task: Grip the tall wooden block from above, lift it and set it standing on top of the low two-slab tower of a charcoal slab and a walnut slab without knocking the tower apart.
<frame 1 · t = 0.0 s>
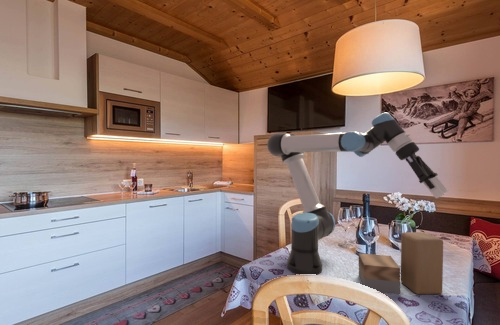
hand: (442, 194, 94), 36 cm above the table, tool tilted 35°, fingers open, 13 cm apart
tower top slab: (377, 272, 101), point 5 cm above the table
wooden block: (420, 288, 99), on the table
tower base slab: (378, 285, 102), on the table
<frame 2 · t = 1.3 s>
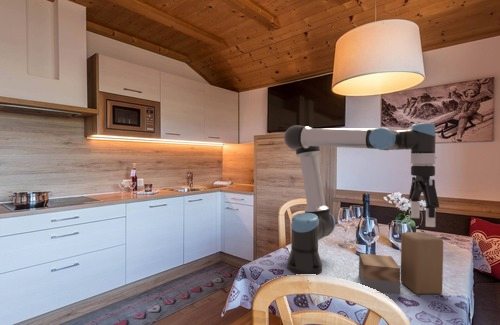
hand: (422, 222, 98), 25 cm above the table, tool pointing down, fingers open, 13 cm apart
tower top slab: (378, 273, 101), point 5 cm above the table, touching tower base slab
tower base slab: (378, 285, 102), on the table, touching tower top slab
everything else where it was.
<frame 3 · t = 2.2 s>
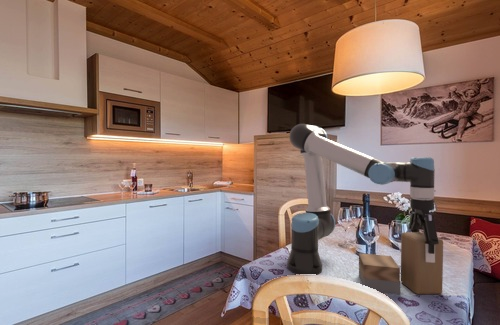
hand: (422, 255, 99), 13 cm above the table, tool pointing down, fingers open, 13 cm apart
nothing on the table moved.
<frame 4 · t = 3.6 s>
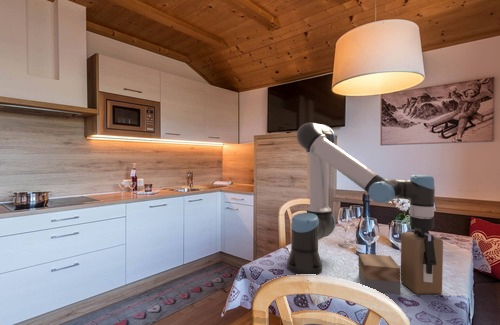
hand: (420, 274, 99), 5 cm above the table, tool pointing down, fingers closed on wooden block, 11 cm apart
wooden block: (420, 288, 99), on the table, touching gripper
everything else where it was.
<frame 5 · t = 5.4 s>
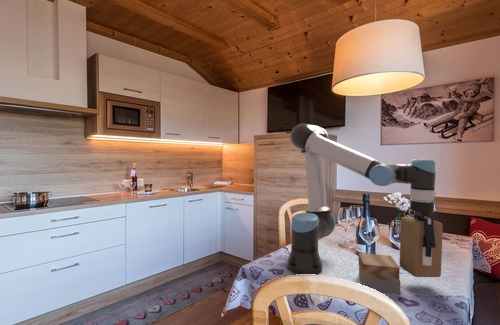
hand: (420, 258, 99), 11 cm above the table, tool pointing down, fingers closed on wooden block, 11 cm apart
wooden block: (419, 272, 99), point 6 cm above the table, touching gripper
everything else where it was.
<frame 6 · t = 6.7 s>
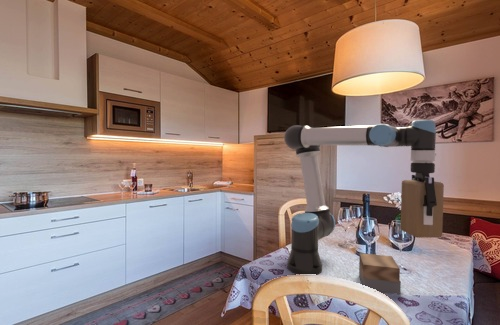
hand: (421, 220, 99), 25 cm above the table, tool pointing down, fingers closed on wooden block, 11 cm apart
wooden block: (420, 234, 99), point 20 cm above the table, touching gripper
everything else where it was.
when the fingers open (17 cm above the table, at t = 11.4 s): wooden block drops 2 cm, resting on tower top slab.
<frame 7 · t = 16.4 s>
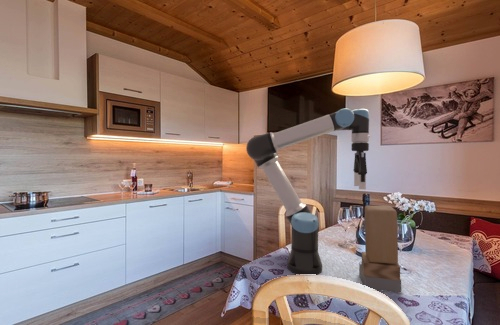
hand: (359, 187, 125), 35 cm above the table, tool pointing down, fingers open, 13 cm apart
tower top slab: (379, 271, 103), point 5 cm above the table, touching tower base slab, wooden block
wooden block: (381, 259, 102), point 10 cm above the table, touching tower top slab
tower base slab: (378, 284, 103), on the table, touching tower top slab
at the end: wooden block 0.9 cm off-centre on the tower base slab, point 10.0 cm above the tower base slab's base; wooden block tilted 2°; tower top slab 0.2 cm off-centre on the tower base slab, point 5.0 cm above the tower base slab's base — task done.
